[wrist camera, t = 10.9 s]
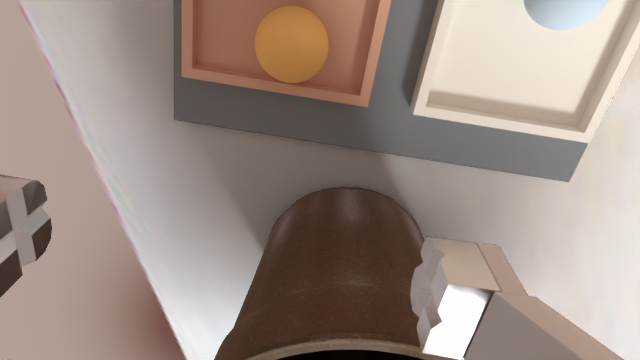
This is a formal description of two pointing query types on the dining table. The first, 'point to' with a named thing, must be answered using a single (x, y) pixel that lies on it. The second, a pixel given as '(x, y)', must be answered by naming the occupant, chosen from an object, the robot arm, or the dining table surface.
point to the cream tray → (524, 67)
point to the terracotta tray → (240, 56)
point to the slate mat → (375, 111)
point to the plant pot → (333, 284)
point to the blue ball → (563, 12)
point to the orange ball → (291, 44)
